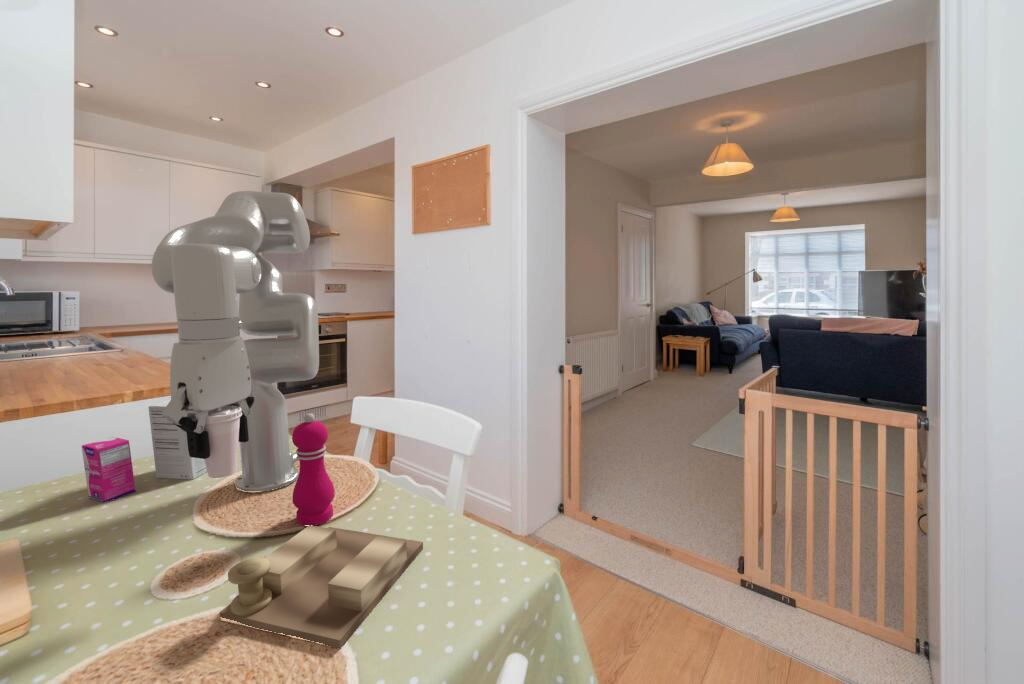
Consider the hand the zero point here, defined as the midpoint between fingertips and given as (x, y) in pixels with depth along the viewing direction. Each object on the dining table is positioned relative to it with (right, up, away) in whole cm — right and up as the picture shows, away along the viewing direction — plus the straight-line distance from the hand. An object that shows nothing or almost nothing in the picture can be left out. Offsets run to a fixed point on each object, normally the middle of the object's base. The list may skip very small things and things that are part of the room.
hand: (220, 447), depth 71 cm
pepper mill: (+7, -17, +17) cm, 25 cm away
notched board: (+18, -19, -2) cm, 26 cm away
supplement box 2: (-31, -14, +39) cm, 52 cm away
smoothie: (0, -4, +1) cm, 4 cm away
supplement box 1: (-39, -16, +26) cm, 49 cm away
